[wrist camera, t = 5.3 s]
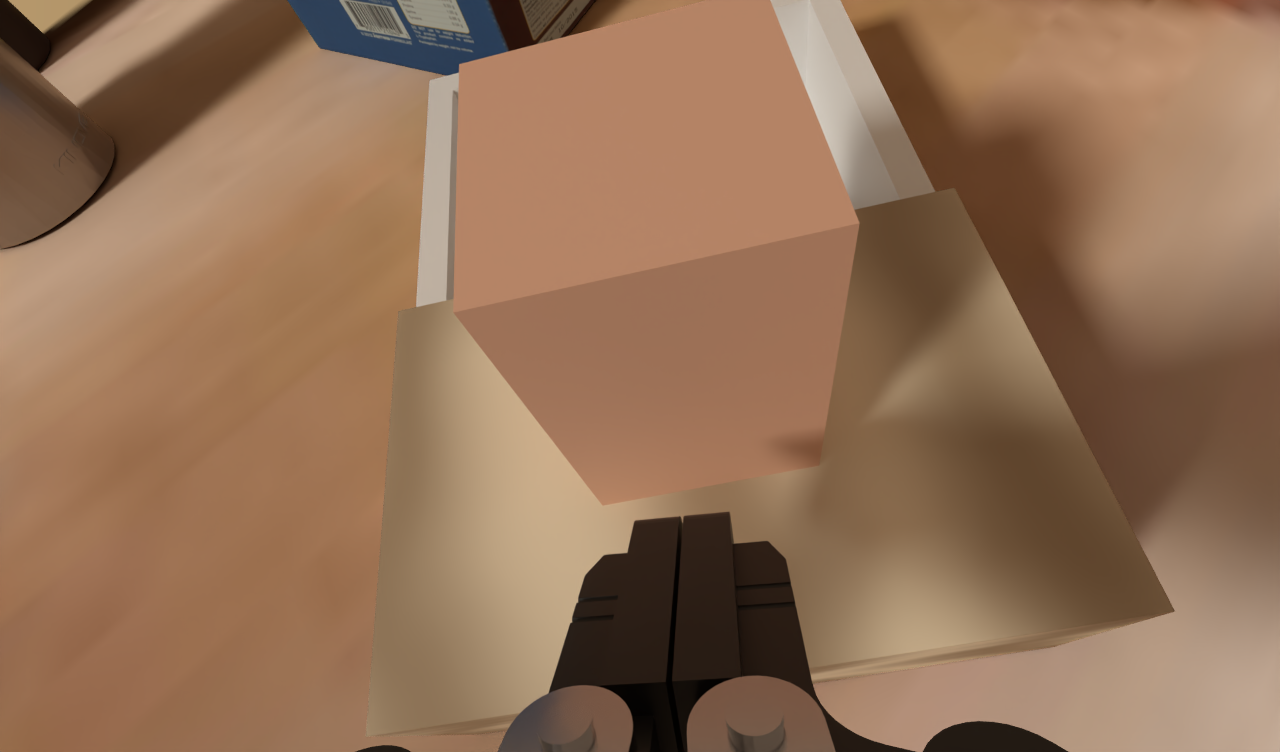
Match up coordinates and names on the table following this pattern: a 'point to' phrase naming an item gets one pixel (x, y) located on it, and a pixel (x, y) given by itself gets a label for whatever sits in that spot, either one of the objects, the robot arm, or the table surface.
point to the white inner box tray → (835, 84)
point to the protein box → (436, 28)
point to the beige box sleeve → (765, 499)
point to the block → (656, 246)
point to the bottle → (22, 35)
